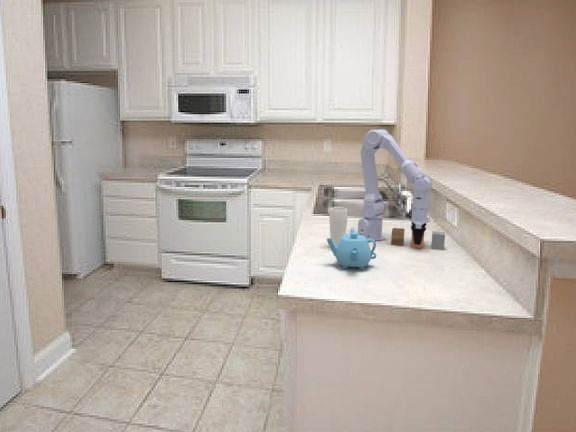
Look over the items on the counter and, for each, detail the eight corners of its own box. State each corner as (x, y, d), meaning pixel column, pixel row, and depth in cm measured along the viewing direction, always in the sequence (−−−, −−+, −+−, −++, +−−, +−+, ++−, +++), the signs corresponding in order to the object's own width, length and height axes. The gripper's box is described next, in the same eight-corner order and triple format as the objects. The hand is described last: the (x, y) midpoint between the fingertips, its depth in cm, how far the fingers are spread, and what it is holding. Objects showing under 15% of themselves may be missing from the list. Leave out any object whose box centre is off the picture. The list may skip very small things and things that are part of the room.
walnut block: (402, 246, 169) (403, 231, 168) (391, 245, 170) (391, 230, 169) (403, 243, 173) (404, 228, 172) (391, 242, 175) (392, 227, 173)
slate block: (443, 250, 165) (445, 234, 163) (431, 249, 166) (432, 233, 165) (443, 247, 169) (444, 232, 168) (431, 245, 170) (432, 231, 169)
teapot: (321, 263, 148) (322, 231, 146) (350, 256, 156) (352, 225, 154) (353, 276, 136) (354, 241, 134) (383, 268, 144) (385, 235, 142)
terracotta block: (423, 248, 167) (424, 233, 166) (410, 247, 168) (412, 232, 167) (423, 245, 171) (424, 230, 170) (411, 243, 172) (412, 229, 171)
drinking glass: (325, 245, 169) (326, 207, 165) (340, 243, 171) (342, 206, 168) (333, 250, 163) (335, 211, 159) (349, 248, 165) (351, 209, 162)
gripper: (431, 212, 158) (428, 248, 161) (431, 205, 172) (428, 238, 175) (410, 211, 160) (408, 246, 163) (412, 204, 174) (410, 237, 177)
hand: (417, 242), depth 169 cm, fingers closed on terracotta block, 4 cm apart
